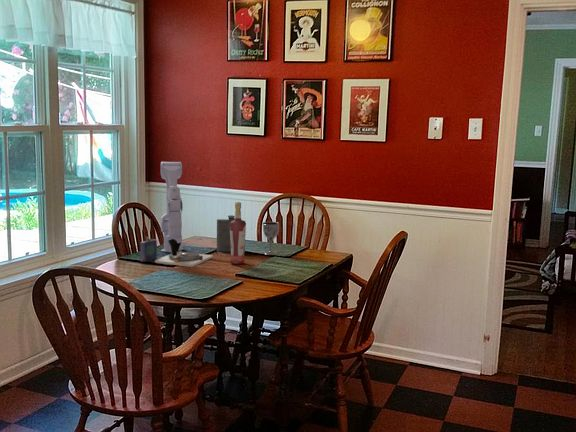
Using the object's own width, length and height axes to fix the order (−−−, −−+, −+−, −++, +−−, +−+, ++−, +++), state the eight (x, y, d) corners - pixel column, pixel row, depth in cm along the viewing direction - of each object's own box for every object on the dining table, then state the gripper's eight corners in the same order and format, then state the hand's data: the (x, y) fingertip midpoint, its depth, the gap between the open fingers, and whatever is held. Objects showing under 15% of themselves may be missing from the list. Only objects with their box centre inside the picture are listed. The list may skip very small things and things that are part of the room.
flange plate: (177, 252, 290) (177, 244, 289) (204, 255, 286) (204, 247, 285) (161, 260, 274) (161, 252, 274) (190, 262, 271) (190, 254, 270)
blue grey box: (143, 262, 276) (142, 238, 274) (138, 261, 277) (138, 238, 275) (158, 258, 283) (157, 235, 281) (153, 257, 285) (153, 235, 283)
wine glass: (279, 251, 303) (280, 222, 300) (277, 255, 295) (278, 224, 292) (263, 251, 303) (264, 221, 301) (261, 254, 296) (261, 224, 293)
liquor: (243, 266, 273) (243, 204, 268) (227, 265, 274) (227, 203, 269) (247, 262, 280) (248, 202, 275) (232, 261, 281) (232, 201, 276)
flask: (218, 249, 304) (218, 214, 301) (245, 251, 301) (246, 215, 298) (215, 251, 300) (216, 215, 297) (243, 253, 298) (244, 217, 295)
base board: (177, 253, 294) (177, 248, 293) (212, 257, 288) (212, 252, 287) (154, 262, 275) (154, 256, 275) (192, 267, 269) (192, 261, 269)
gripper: (161, 223, 279) (162, 252, 281) (170, 229, 266) (170, 259, 269) (176, 222, 282) (177, 251, 285) (186, 228, 270) (186, 258, 272)
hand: (175, 255), depth 277 cm, fingers closed
